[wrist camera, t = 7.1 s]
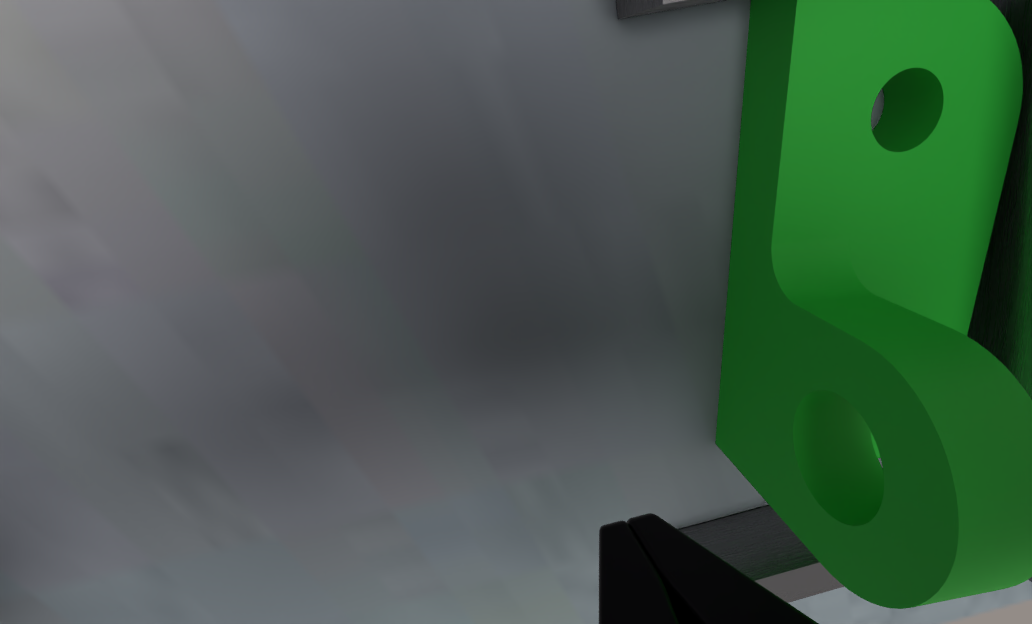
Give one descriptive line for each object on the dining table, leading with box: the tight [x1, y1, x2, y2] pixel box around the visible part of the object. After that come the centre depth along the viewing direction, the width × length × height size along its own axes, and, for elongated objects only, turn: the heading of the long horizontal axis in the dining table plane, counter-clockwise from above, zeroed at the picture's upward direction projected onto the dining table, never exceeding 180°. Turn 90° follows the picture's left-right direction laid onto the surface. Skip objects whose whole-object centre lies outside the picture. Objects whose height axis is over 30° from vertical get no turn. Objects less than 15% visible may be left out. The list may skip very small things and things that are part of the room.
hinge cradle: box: [616, 0, 1032, 603], centre depth 14 cm, size 15×17×6 cm
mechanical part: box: [715, 0, 1032, 609], centre depth 13 cm, size 12×6×8 cm, turn 3°
